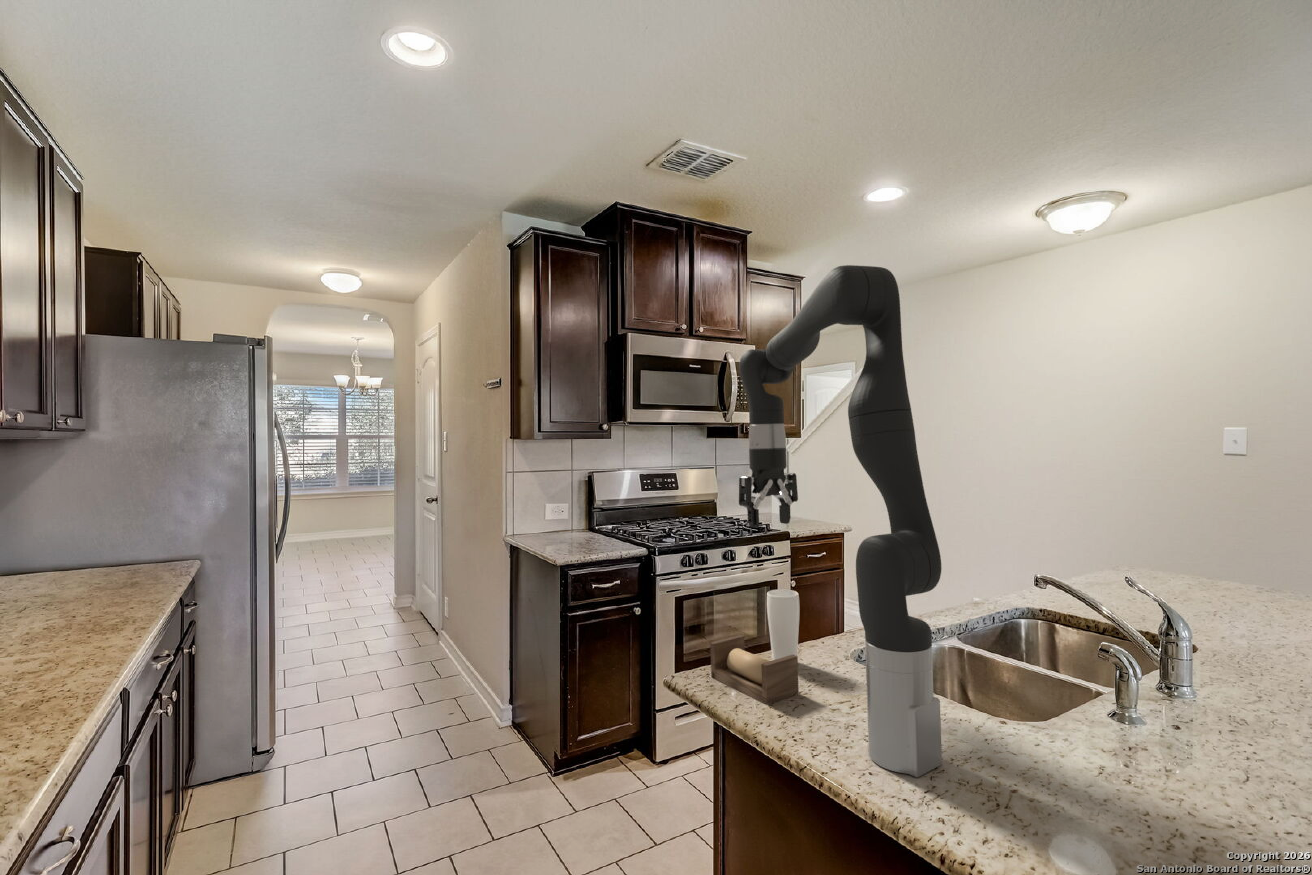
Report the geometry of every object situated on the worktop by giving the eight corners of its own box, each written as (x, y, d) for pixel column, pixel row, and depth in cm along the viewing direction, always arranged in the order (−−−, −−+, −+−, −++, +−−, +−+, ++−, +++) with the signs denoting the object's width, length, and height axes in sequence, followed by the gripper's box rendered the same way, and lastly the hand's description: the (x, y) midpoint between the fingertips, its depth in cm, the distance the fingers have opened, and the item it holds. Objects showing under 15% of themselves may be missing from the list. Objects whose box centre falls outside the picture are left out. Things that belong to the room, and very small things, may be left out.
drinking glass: (798, 657, 133) (796, 588, 133) (803, 669, 126) (801, 596, 127) (767, 657, 134) (765, 589, 134) (770, 669, 127) (767, 597, 127)
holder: (798, 693, 115) (797, 656, 115) (767, 704, 110) (766, 665, 110) (741, 668, 128) (740, 634, 128) (711, 677, 124) (710, 642, 124)
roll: (780, 684, 116) (779, 660, 116) (762, 690, 114) (761, 665, 114) (744, 668, 125) (743, 645, 125) (726, 673, 122) (726, 650, 122)
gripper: (753, 447, 119) (756, 530, 119) (805, 445, 127) (807, 523, 127) (728, 447, 125) (731, 526, 125) (779, 445, 133) (781, 520, 133)
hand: (769, 525), depth 126 cm, fingers open, 8 cm apart
